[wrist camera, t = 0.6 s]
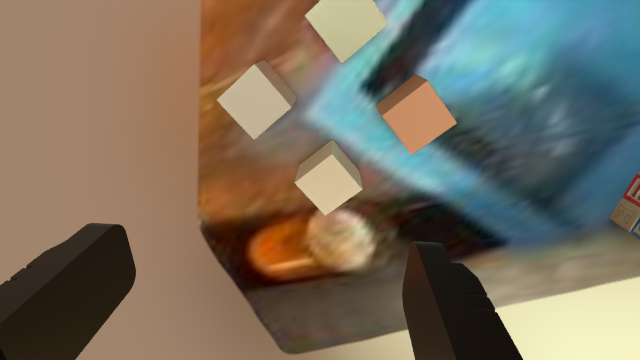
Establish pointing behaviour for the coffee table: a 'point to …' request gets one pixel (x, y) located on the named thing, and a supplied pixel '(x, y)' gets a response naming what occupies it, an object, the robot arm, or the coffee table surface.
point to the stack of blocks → (629, 209)
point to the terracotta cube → (415, 113)
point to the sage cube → (346, 24)
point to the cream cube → (328, 178)
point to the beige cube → (257, 99)
